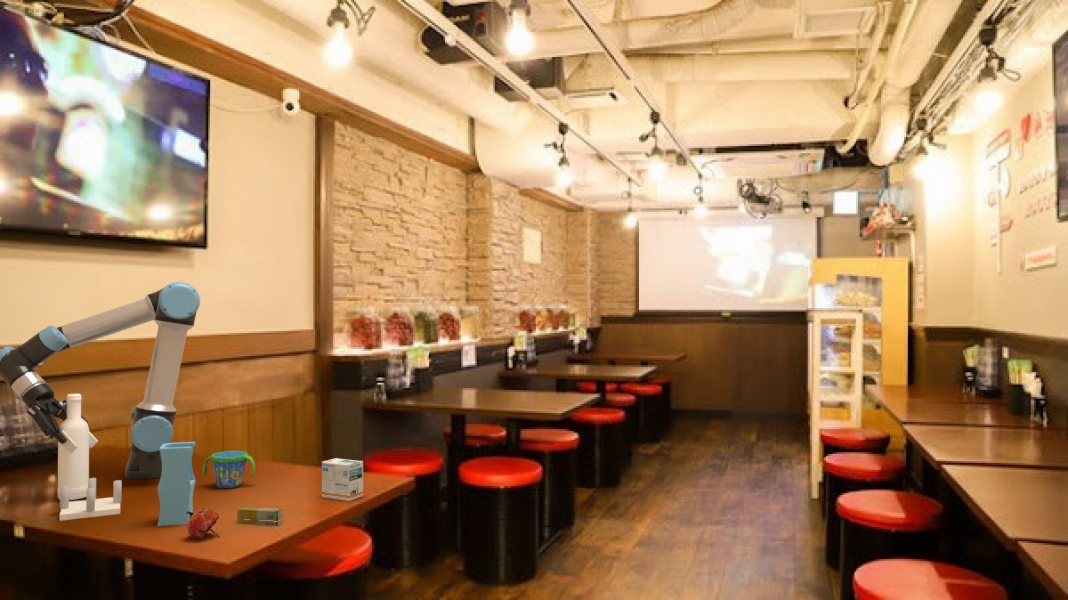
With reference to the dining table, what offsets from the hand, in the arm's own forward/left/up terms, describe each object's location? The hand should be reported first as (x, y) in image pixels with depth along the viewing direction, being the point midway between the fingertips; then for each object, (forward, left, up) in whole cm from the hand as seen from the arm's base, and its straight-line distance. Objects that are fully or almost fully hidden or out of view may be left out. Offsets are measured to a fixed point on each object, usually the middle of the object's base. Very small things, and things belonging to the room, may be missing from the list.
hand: (84, 447), depth 219 cm
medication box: (-41, +48, -16) cm, 65 cm away
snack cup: (-39, +3, -15) cm, 42 cm away
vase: (-22, +36, -15) cm, 45 cm away
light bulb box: (-67, +32, -15) cm, 76 cm away
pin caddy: (-2, +15, -15) cm, 21 cm away
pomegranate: (-27, +54, -15) cm, 62 cm away
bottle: (+3, -2, -15) cm, 15 cm away
